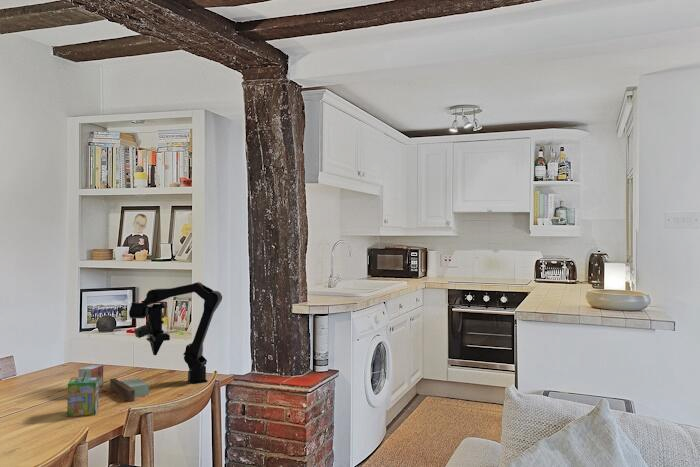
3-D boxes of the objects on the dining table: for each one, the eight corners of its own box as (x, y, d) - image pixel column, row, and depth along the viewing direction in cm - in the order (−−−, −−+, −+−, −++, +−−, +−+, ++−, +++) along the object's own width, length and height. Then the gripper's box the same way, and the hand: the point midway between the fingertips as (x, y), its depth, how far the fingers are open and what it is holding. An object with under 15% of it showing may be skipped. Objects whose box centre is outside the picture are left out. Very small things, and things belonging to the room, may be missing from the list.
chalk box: (71, 410, 208) (71, 368, 208) (99, 408, 211) (99, 366, 211) (66, 417, 199) (66, 373, 199) (95, 415, 202) (95, 372, 202)
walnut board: (115, 388, 239) (115, 378, 239) (134, 400, 220) (134, 390, 220) (109, 388, 237) (109, 378, 237) (129, 401, 219) (129, 391, 219)
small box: (90, 396, 226) (91, 369, 226) (77, 395, 227) (78, 368, 227) (103, 391, 234) (103, 364, 234) (91, 390, 235) (91, 364, 235)
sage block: (138, 389, 238) (138, 378, 238) (148, 395, 228) (148, 384, 228) (120, 392, 233) (120, 381, 233) (130, 398, 224) (130, 386, 224)
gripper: (128, 317, 253) (128, 354, 253) (143, 322, 239) (143, 361, 239) (154, 315, 260) (154, 351, 260) (170, 320, 246) (170, 357, 245)
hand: (154, 355), depth 251 cm, fingers closed
